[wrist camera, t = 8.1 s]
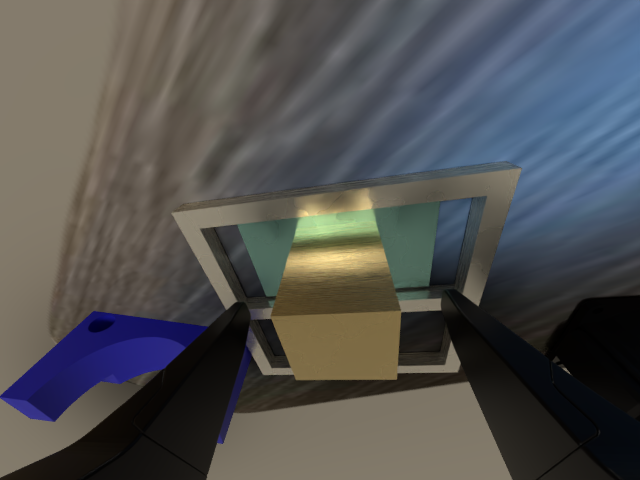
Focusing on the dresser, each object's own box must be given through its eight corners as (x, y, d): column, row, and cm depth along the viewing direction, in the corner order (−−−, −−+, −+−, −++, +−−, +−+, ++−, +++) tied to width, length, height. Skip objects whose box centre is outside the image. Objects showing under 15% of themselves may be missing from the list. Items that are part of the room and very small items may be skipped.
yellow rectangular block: (375, 220, 11) (401, 310, 7) (376, 280, 13) (396, 379, 9) (296, 228, 12) (270, 316, 7) (309, 284, 14) (296, 379, 9)
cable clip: (117, 342, 20) (43, 427, 15) (96, 309, 18) (-2, 397, 12) (253, 361, 20) (225, 451, 15) (251, 330, 18) (217, 425, 13)
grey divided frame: (505, 161, 10) (522, 167, 9) (451, 358, 18) (457, 372, 17) (183, 203, 12) (171, 212, 11) (266, 362, 20) (263, 374, 19)
